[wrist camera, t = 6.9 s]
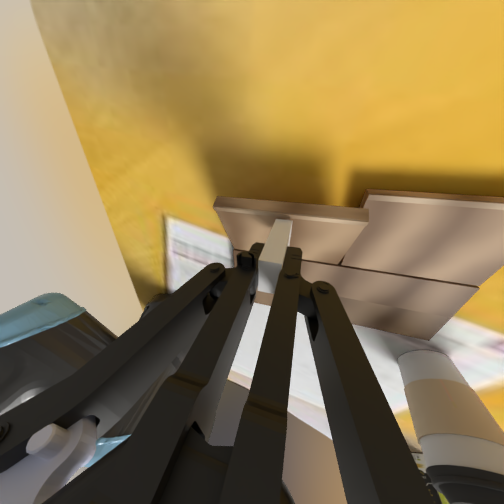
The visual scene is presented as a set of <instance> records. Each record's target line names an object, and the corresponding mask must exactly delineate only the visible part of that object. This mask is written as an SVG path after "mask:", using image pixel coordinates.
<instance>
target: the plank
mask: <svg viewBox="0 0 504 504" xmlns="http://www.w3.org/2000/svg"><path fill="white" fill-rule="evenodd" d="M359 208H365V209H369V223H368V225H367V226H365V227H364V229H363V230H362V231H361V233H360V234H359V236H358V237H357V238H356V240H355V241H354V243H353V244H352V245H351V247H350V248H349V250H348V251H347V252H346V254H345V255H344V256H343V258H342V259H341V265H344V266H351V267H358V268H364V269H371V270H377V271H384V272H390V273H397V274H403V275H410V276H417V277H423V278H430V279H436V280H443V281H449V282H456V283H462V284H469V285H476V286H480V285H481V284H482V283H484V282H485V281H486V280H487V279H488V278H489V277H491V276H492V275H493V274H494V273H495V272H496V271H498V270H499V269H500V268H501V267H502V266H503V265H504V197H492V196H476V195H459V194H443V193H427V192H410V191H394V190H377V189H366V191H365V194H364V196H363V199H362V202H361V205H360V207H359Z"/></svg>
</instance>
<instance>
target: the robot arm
mask: <svg viewBox="0 0 504 504" xmlns="http://www.w3.org/2000/svg"><path fill="white" fill-rule="evenodd" d="M291 229H292V221H291V220H282V219H276V220H275V222H274V225H273V227H272V229H271V232H270V234H269V236H268V239H267V241H266V243H259V242H256V243H254V244H253V245H252V246H251V248H250V250H249V251H244V252H240V253H238V254H237V255H236V256H237V266H236V267H235V268H225V267H224V265H223V264H221V263H211V264H209V265H207V266H206V267H205V268H204V269H202V270H201V271H200V272H199V273H197V274H196V275H195V276H194V277H192V278H191V279H190V280H189V281H187V282H186V283H185V284H184V285H182V286H181V287H180V288H179V289H178V290H176V291H175V292H174V293H173V294H159V295H156V296H155V297H154V298H153V299H152V300H151V301H150V302H149V303H148V304H147V305H146V307H145V309H144V312H143V313H142V315H141V318H140V319H139V321H138V322H137V323H135V324H134V325H133V326H132V327H131V328H129V329H128V330H127V331H126V332H124V333H123V334H122V335H121V336H119V337H117V336H116V335H115V334H113V333H112V332H111V331H110V330H109V329H108V328H106V327H105V326H104V325H103V324H101V323H100V322H99V321H98V320H97V319H95V318H94V317H93V316H92V315H91V314H89V313H88V312H87V311H86V309H85V308H84V307H80V306H79V305H77V304H76V303H74V302H73V301H72V300H71V299H69V298H68V297H66V296H65V295H63V294H60V293H47V294H43V295H40V296H38V297H36V298H34V299H32V300H30V301H28V302H26V303H24V304H21V305H19V306H17V307H15V308H13V309H11V310H9V311H7V312H5V313H3V314H1V315H0V504H295V503H294V500H293V498H292V496H291V494H290V492H289V490H288V488H287V487H286V485H285V483H284V482H283V480H282V472H283V462H284V451H285V440H286V430H287V408H288V397H289V387H290V378H291V368H292V358H293V348H294V338H295V328H296V318H297V312H299V313H301V314H303V315H304V317H305V322H306V326H307V330H308V335H309V339H310V343H311V348H312V352H313V356H314V361H315V365H316V369H317V374H318V378H319V383H320V387H321V391H322V396H323V400H324V404H325V409H326V413H327V417H328V422H329V426H330V430H331V435H332V439H333V444H334V448H335V452H336V457H337V461H338V465H339V470H340V474H341V478H342V482H343V487H344V491H345V496H346V500H347V503H348V504H435V503H434V501H433V499H432V497H431V494H430V492H429V490H428V488H427V486H426V484H425V482H424V479H423V477H422V475H421V473H420V471H419V469H418V466H417V464H416V462H415V460H414V458H413V456H412V454H411V451H410V449H409V447H408V445H407V443H406V441H405V438H404V436H403V434H402V432H401V430H400V428H399V425H398V423H397V421H396V419H395V417H394V415H393V413H392V410H391V408H390V406H389V404H388V402H387V400H386V397H385V395H384V393H383V391H382V389H381V387H380V384H379V382H378V380H377V378H376V376H375V374H374V372H373V369H372V367H371V365H370V363H369V361H368V359H367V356H366V354H365V352H364V350H363V348H362V346H361V343H360V341H359V339H358V337H357V335H356V333H355V331H354V328H353V326H352V324H351V322H350V320H349V318H348V315H347V313H346V311H345V309H344V307H343V305H342V302H341V300H340V298H339V296H338V294H337V292H336V290H335V288H334V287H333V285H331V284H330V283H328V282H325V281H315V282H313V283H310V282H308V281H306V280H305V279H304V278H303V277H302V276H301V262H302V250H301V249H300V248H297V247H290V246H289V245H290V237H291ZM257 287H258V291H261V292H266V293H271V294H274V296H273V300H272V304H271V308H270V312H269V316H268V320H267V324H266V328H265V332H264V336H263V340H262V344H261V348H260V352H259V356H258V360H257V364H256V368H255V372H254V376H253V380H252V384H251V388H250V392H249V396H248V399H247V401H246V403H245V405H244V408H243V412H242V415H241V419H240V423H239V427H238V431H237V435H236V438H235V442H234V446H212V445H209V444H208V441H209V438H210V435H211V432H212V429H213V426H214V421H215V416H216V410H217V406H218V403H219V400H220V398H221V394H222V392H223V389H224V386H225V383H226V381H227V378H228V375H229V372H230V369H231V366H232V363H233V360H234V358H235V355H236V352H237V349H238V346H239V343H240V340H241V337H242V335H243V332H244V329H245V326H246V323H247V320H248V317H249V315H250V312H251V309H252V306H253V303H254V300H255V297H256V290H257ZM81 467H89V468H87V469H86V470H85V471H83V472H82V473H81V474H80V475H78V476H77V477H76V478H74V479H73V480H72V481H71V482H69V483H68V484H67V485H66V483H67V482H68V480H69V479H70V478H71V477H72V476H73V474H74V473H75V472H76V471H77V470H78V469H79V468H81Z"/></svg>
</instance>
